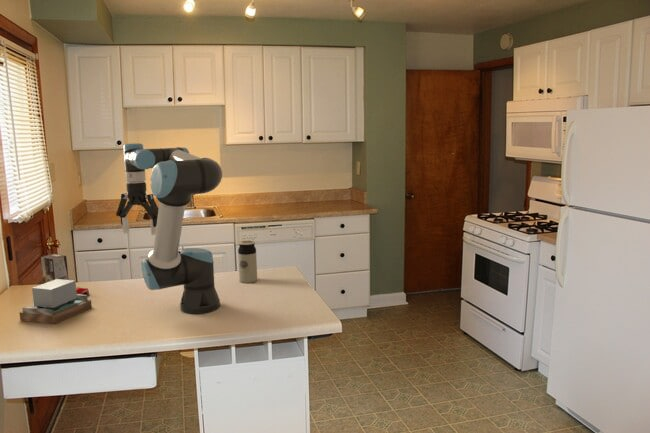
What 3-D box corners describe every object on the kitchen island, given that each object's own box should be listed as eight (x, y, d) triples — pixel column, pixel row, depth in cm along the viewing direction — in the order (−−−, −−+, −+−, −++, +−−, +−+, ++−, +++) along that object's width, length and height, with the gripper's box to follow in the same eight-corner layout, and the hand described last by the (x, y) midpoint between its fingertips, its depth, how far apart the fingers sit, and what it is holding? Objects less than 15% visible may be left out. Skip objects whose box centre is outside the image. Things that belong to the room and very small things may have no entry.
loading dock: (91, 307, 218) (90, 295, 217) (54, 324, 200) (53, 311, 199) (59, 303, 223) (58, 292, 222) (20, 320, 205) (18, 307, 204)
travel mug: (248, 277, 256) (246, 239, 253) (260, 280, 251) (259, 241, 248) (235, 281, 249) (234, 242, 246) (248, 284, 245) (247, 244, 242)
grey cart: (77, 301, 215) (75, 280, 214) (53, 311, 204) (51, 289, 203) (59, 299, 218) (56, 278, 217) (34, 309, 207) (32, 287, 205)
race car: (65, 304, 223) (64, 294, 223) (56, 302, 226) (55, 293, 225) (91, 294, 235) (90, 285, 234) (82, 293, 237) (81, 284, 237)
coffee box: (70, 291, 239) (67, 255, 236) (56, 296, 234) (52, 258, 231) (58, 288, 244) (54, 253, 241) (44, 292, 238) (40, 256, 236)
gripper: (104, 182, 223) (108, 234, 226) (156, 183, 215) (160, 237, 218) (116, 180, 230) (120, 230, 233) (168, 181, 222) (171, 233, 225)
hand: (140, 233), depth 226 cm, fingers open, 13 cm apart
